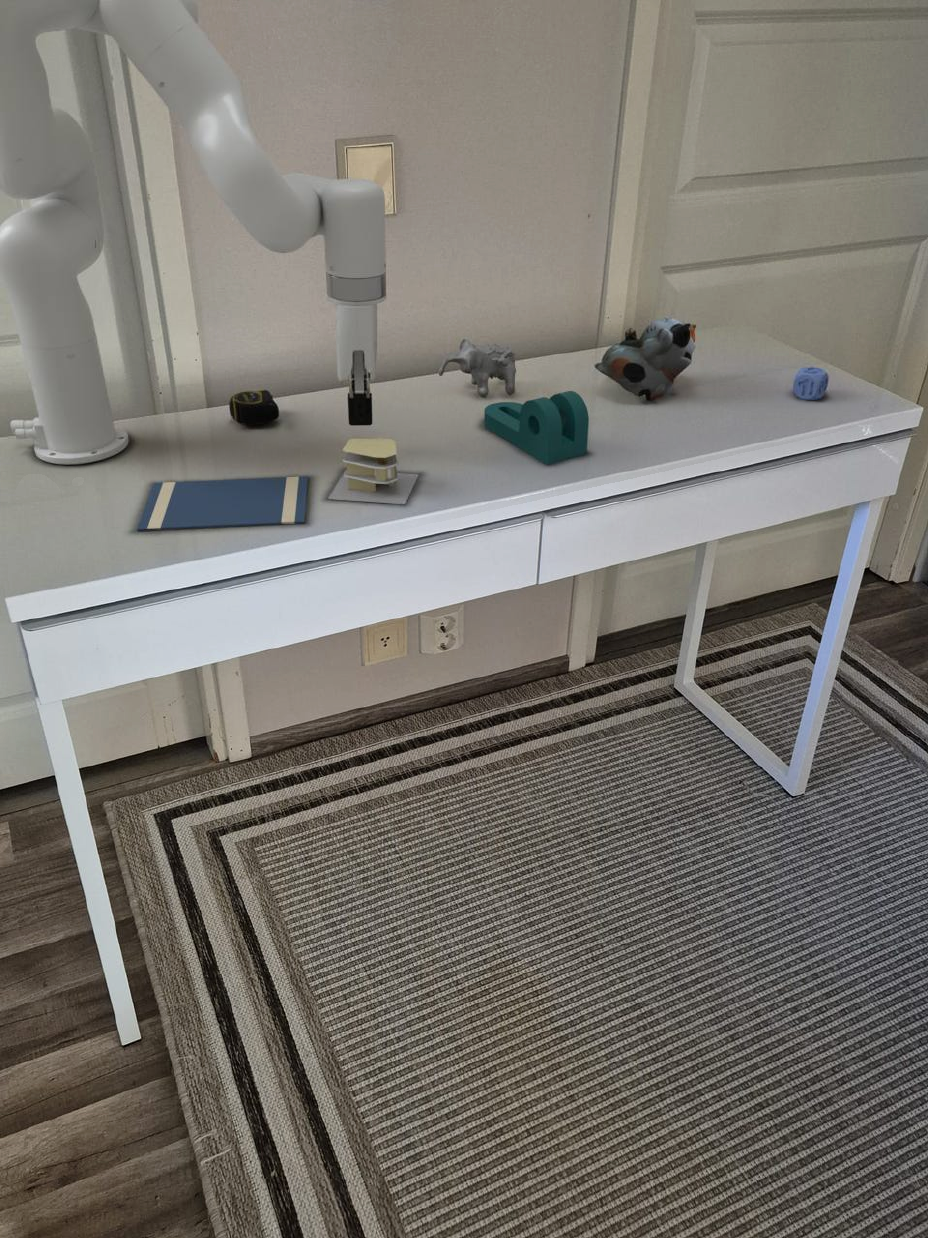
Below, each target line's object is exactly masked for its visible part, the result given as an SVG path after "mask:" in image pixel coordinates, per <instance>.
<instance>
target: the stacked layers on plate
mask: <svg viewBox="0 0 928 1238" xmlns="http://www.w3.org/2000/svg"><path fill="white" fill-rule="evenodd" d="M342 452H347V453H346V455H345V456H344V458H343V459H342V460H343V463H346V468H347V469H345V470H344V472H343V473H342V475H341V476H340V478H339V480H338V481H337V483H336V485H335V486H334V488H333V490H332V492H330V494H329V496H328V498H327V499H328V500H335V501H336V500H338V501H350V502H364V503H365V502H366V503H378V504H379V503H380V504H393V505H395V504H396V505H406V503H407V500H408V498H409V497H410V494H411V492H412V490H413V488H414V486H415V483H416V481H417V479H418V477H419V474H418V473H404V472H403V473H401V472H398V469H397V465H398V458H397V445H396V442H395V441H394V440H392V439H390V438H350V439H349V440H348V441H347V443H346V444H345V445H344V447H343V448H342Z"/></svg>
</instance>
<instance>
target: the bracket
mask: <svg viewBox="0 0 928 1238" xmlns="http://www.w3.org/2000/svg"><path fill="white" fill-rule="evenodd" d="M483 413H484V414H483V415H484V420H483V423H484V424H483V425H484V428H485V429H486V430H488V431H490V432H491V433H493V434H494V435H496V436H498V437H499V438H502V439H503V440H504V441H506V442H508V443H510V444H511V445H513V446H515V447H516V448H518V449H520V450H521V451H523V452H525V453H527V454H529V455H530V456H531V457H533V458H535V459H537V460H538V461H540V462H542V463H543V464H545V465H552V464H555V463H558V462H561V461H562V462H563V461H565V460H569V459H574V458H577V457H580V456H585V455H587V454H588V441H589V438H588V437H589V426H590V417H589V412H588V407H587V405H586V403H585V401H584V398H582V396H581V395H580V393H578V392H576V391H574V390H568V391H567V390H566V391H563V392H559V393H555V394H552V395H551V396H550V397H549V398H548V397H545V396H543V397H538V398H533V399H529V400H527V401H525V402H524V403H519V402H515V401H500V402H494V403H491V404H488V405H487V406H485V408H484V411H483Z"/></svg>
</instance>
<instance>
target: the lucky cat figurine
mask: <svg viewBox="0 0 928 1238" xmlns="http://www.w3.org/2000/svg"><path fill="white" fill-rule="evenodd" d="M696 328H697V325H696V324H691V323H689V322H688V323H685V321H682V320H680V319H678V318H676V317H675V318H674V317H663V318H660V319H656V320H653V321H651V322H650V324H648V325H647V326H646V328H645V329H643V332H642V333H641V335H640V337H639V338H638V336H637V331H636V330H635V329H634V328H633V327H629V328H628V329H627V330H626V331H625V333H624V340H622V341H620V342H619V343H615V344H613V345H611V346H610V347H609V348H608V349H607V350H606V351H605V352H604V354H603V355H602V358H601V361H600V362H597V363H595V364H594V368H595V369H596V370H597V371H598V372H600V374H603V375H604V376H605V377H608V378H609V379H611V380H612V381H614V382H615V383H617V384H618V385H619V386H620V387H621V388H622V389H623V390H624V391H626V392H629V393H631V394H632V395H634V396H636V397H639V398H640V397H642V396H645V401H646V402H655V400H659V399H661V398H664V397H667V396H669V395H670V394H671V393H672V390H673V388H674V382H675V379H676V378H677V377H678V376H679V375H680V374H681V373H683V372H684V371H685V370H686V369H687V368H688V367H689V366H690V365H691V364H692V362H693V359H692V358H693V354H694V351H695V349H696V347H697V346H696V344H695V343H696V333H695V331H696Z"/></svg>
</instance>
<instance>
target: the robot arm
mask: <svg viewBox="0 0 928 1238" xmlns="http://www.w3.org/2000/svg"><path fill="white" fill-rule="evenodd" d="M198 8H199V7H198V3H197V1H196V0H0V191H1V192H2V193H3V194H5V195H6V196H8V197H11V198H13V199H16V200H26V201H27V200H28V201H29V207H27V208H24V209H22V210H20V211H18V212H16V213H14V214H12V215H11V216H9V217H7V219H5V220H4V222H2V223H1V224H0V282H1V285H2V287H3V290H4V291H5V295H6V297H7V300H8V303H9V306H10V308H11V312H12V315H13V319H14V322H15V325H16V326H15V327H16V329H17V330H16V331H17V334H18V339H19V342H20V344H21V345H20V346H21V348H22V353H23V357H24V362H25V365H26V369H27V374H28V377H29V382H30V386H31V390H32V394H33V399H34V402H35V407H36V411H37V417H34V418H33V419H31V420H29V419H28V420H27V419H13V420H11V421H10V426H9V427H10V432H11V433H12V435H14V436H15V438H16V439H17V440H27V439H33V440H35V442H34V444H33V450H34V454H35V456H36V457H37V458H38V459H39V460H42V461H44V462H46V463H50V464H55V465H83V464H89V463H94V462H98V461H103V460H105V459H108V458H111V457H113V456H115V455H118V454H119V453H120V452H122V451H123V450H125V448H127V447H128V444H129V442H130V439H129V435H128V432H127V431H126V430H125V429H124V428H123V427H121V426H119V425H116V424H115V422H114V417H113V411H112V408H111V402H110V397H109V392H108V386H107V382H106V378H105V373H104V367H103V362H102V357H101V352H100V348H99V342H98V338H97V333H96V329H95V324H94V319H93V315H92V311H91V309H90V306H89V303H88V301H87V299H86V296H85V294H84V292H83V290H82V287H81V286H80V282H79V279H78V276H79V274H81V273H83V272H84V271H86V270H87V269H89V268H90V267H91V266H93V265H94V264H95V263H96V262H97V260H98V259H99V258H100V256H101V254H102V252H103V249H104V242H105V229H104V221H103V213H102V204H101V199H100V192H99V191H100V190H99V185H98V178H97V177H98V176H97V171H96V165H95V158H94V153H93V149H92V146H91V143H90V140H89V138H88V136H87V134H86V132H85V130H84V129H83V127H82V126H81V124H80V123H79V122H78V121H77V119H76V118H74V117H73V116H72V115H71V114H70V113H68V112H67V111H65V110H63V109H61V108H59V107H56V106H52V100H51V95H50V85H49V79H48V75H47V71H46V68H45V65H44V62H43V59H42V57H41V55H40V52H39V50H38V48H37V44H36V43H37V42H36V40H37V37H38V36H40V35H41V34H45V33H50V32H51V33H52V32H61V31H68V30H80V31H84V32H85V31H86V32H91V33H95V34H100V35H103V36H108V37H112V39H113V40H114V42H115V43H116V44H117V46H118V47H119V48H120V49H121V50H122V51H123V53H124V54H125V55H126V57H127V58H128V59H129V61H130V62H131V63H132V65H133V66H134V67H135V68H136V70H137V71H138V72H139V73H140V74H141V76H143V78H144V79H145V81H147V83H148V84H149V85H150V87H151V88H152V89H153V90H154V92H155V93H156V94H157V96H158V97H159V98H160V99H161V100H162V103H164V105H165V106H166V108H167V109H168V110H169V111H170V113H171V114H172V115H173V117H174V118H175V119H176V120H177V121H178V124H180V126H181V127H182V129H183V130H184V131H185V133H186V135H187V136H186V137H187V138H188V141H189V143H190V146H191V148H192V150H193V152H194V154H195V156H196V158H197V159H198V161H199V164H200V166H201V168H202V170H203V172H204V174H205V175H206V177H207V179H208V182H209V183H210V185H211V186H212V188H213V189H214V191H215V192H216V194H217V195H218V196H219V198H220V199H221V201H222V202H223V203H224V205H225V206H226V207H227V209H228V210H229V211H230V212H231V213H232V215H233V216H234V217H235V218H236V220H237V221H238V222H239V223H240V224H241V226H242V227H243V228H244V229H245V231H246V232H247V233H248V234H249V235H250V237H252V238H253V239H254V241H256V242H257V243H258V244H259V245H261V246H262V247H263V248H265V249H266V250H269V251H271V252H274V253H277V254H287V253H288V254H289V253H293V252H296V251H298V250H299V249H301V248H303V246H305V244H306V243H308V242H309V240H310V239H312V238H314V237H316V236H322V237H323V240H324V241H323V243H324V262H325V264H324V265H325V280H326V281H325V283H326V284H325V285H326V299H327V301H329V302H331V303H333V304H335V305H334V307H335V308H334V327H335V328H334V329H335V350H336V353H335V354H336V368H337V369H336V374H337V376H336V377H337V380H338V382H340V383H343V381H348V392H347V415H348V416H347V417H348V425H349V426H351V427H352V426H354V427H357V426H359V427H360V426H366V427H367V426H372V425H373V393H372V392H371V382H373V381H374V380H375V378H376V369H377V368H376V367H377V352H378V304H381V303H383V302H385V300H387V256H386V255H387V254H386V251H387V250H386V249H387V248H386V199H385V191H384V189H383V187H382V186H381V185H380V184H379V183H378V182H376V181H375V180H374V181H373V180H370V179H366V178H339V179H333V178H328V177H322V176H317V175H314V174H313V175H312V174H308V173H302V172H289V173H286V174H281V173H280V172H279V170H278V169H277V167H276V166H275V165H274V164H273V162H272V160H271V159H270V158H269V156H268V155H267V153H266V152H265V150H264V149H263V147H262V146H261V144H260V142H259V140H258V139H257V137H256V135H255V133H254V131H253V128H252V125H251V124H250V120H249V117H248V111H247V105H246V98H245V97H246V96H245V91H244V89H243V85H242V83H241V81H240V79H239V78H238V76H237V75H236V74H235V72H234V71H233V70H232V68H231V67H230V65H229V64H228V63H227V62H226V61H225V59H224V58H223V56H222V55H221V54H220V53H219V51H218V50H217V48H216V47H215V45H214V44H213V43H212V42H211V40H210V39H209V38H208V37H207V35H206V34H205V32H204V30H202V28H201V27H200V26H199V24H198V22H199V9H198Z"/></svg>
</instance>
